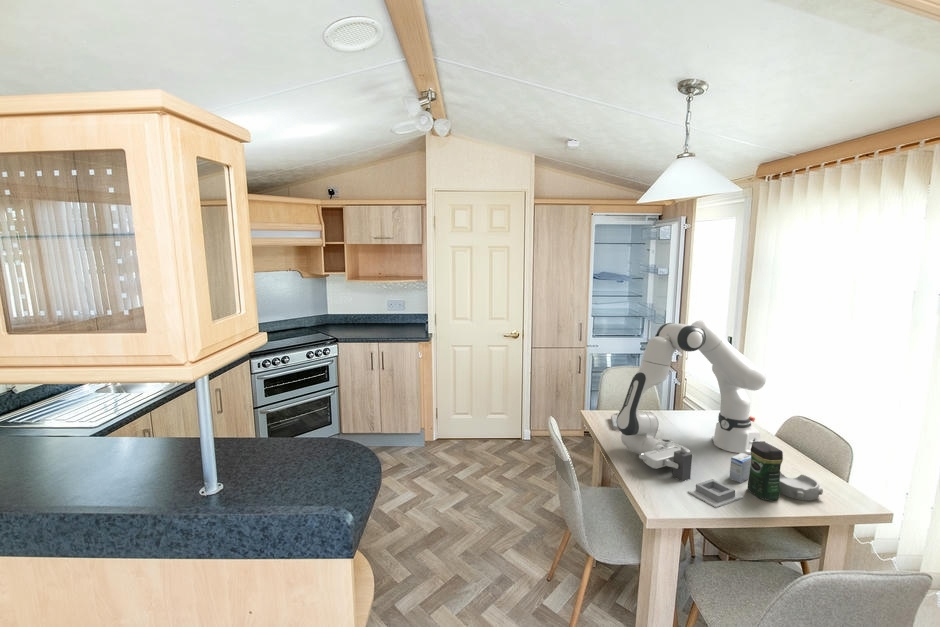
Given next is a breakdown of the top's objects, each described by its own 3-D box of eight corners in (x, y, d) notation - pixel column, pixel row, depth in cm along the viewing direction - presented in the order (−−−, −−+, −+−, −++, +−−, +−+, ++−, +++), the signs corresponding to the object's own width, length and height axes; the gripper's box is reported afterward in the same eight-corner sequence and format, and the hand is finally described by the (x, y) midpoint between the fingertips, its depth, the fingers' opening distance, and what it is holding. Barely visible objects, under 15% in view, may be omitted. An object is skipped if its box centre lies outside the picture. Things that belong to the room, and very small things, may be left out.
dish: (762, 482, 170) (764, 469, 170) (800, 482, 170) (801, 470, 169) (788, 503, 156) (789, 489, 155) (829, 503, 156) (831, 490, 155)
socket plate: (713, 483, 169) (714, 476, 168) (742, 498, 159) (743, 490, 158) (687, 492, 163) (688, 484, 162) (715, 507, 153) (716, 499, 152)
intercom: (634, 407, 240) (642, 424, 216) (634, 415, 241) (642, 433, 216) (608, 405, 243) (614, 422, 218) (608, 413, 243) (613, 431, 219)
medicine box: (739, 473, 177) (741, 452, 176) (751, 477, 173) (753, 456, 172) (728, 478, 173) (730, 457, 171) (741, 483, 169) (743, 461, 168)
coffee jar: (783, 501, 157) (788, 450, 155) (762, 502, 156) (767, 451, 154) (763, 486, 167) (767, 438, 164) (743, 487, 166) (747, 439, 163)
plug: (680, 473, 176) (682, 444, 175) (690, 479, 172) (692, 449, 171) (672, 476, 174) (674, 446, 173) (682, 481, 170) (684, 451, 169)
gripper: (636, 448, 179) (665, 462, 167) (673, 438, 188) (702, 452, 176) (635, 463, 180) (664, 478, 168) (672, 453, 189) (701, 467, 177)
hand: (684, 465), depth 172 cm, fingers closed on plug, 4 cm apart
